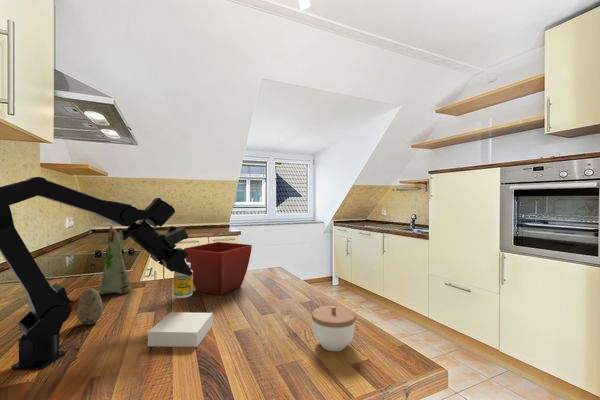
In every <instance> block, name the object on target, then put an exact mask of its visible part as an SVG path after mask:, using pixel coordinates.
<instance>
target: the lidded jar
mask: <svg viewBox="0 0 600 400" xmlns="http://www.w3.org/2000/svg"><path fill="white" fill-rule="evenodd" d="M356 318H357V316H356V314H355V312H354V311H353V310H351V309H349V308H348V307H343V306H337V305H325V306H319V307H317V308H314V310H313V311H312V312H311V319H312V320H311V322H312V323H311V324H312V332H313V335H314V337H315V340H316V341H317V342H318V343H319V344H320V346H321V348H323V349H324V350H327V351H328V352H340V351H344V350H345V348H346V347H347V346H348V345H349V344H351V342H352V340H353V337H354V335H355V330H356Z"/></svg>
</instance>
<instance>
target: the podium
mask: <svg viewBox="0 0 600 400" xmlns="http://www.w3.org/2000/svg"><path fill="white" fill-rule="evenodd" d="M213 319H214V313H213V312H173V311H172V312H171V311H170V312H169V313H168V314H167V315H165V317H163V318H162V319H161V320H160V321H159V322H157V323H156V324H155V325H154V326H153V327H152V328H151V329H149V330H148V331H147V347H163V348H164V347H168V348H169V347H172V348H175V347H176V348H177V347H178V348H179V347H180V348H181V347H182V348H184V347H186V348H197V347H198V346H199V345H200V344H201V342H202V341H203V339H204V338H205V337H206V335H207V334H208V332H209V331H210V330H211V328H212V327H213V326H214V325H213V324H214V322H213V321H214V320H213Z"/></svg>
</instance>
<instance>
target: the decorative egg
mask: <svg viewBox="0 0 600 400" xmlns="http://www.w3.org/2000/svg"><path fill="white" fill-rule="evenodd" d="M103 310H104V305H103V301H102V297H101V296H100V295H99V291H97V290H96V289H95V288H92V287H90V288H87V289H86V290H85V291H84V292H83V293H82V295H81V296H80V299H79V302H78V304H77V309H76V316H77V320H78V321H79V323H81V324H84V325H92V324H94V323H96V322H97V321H99V319H100V318H101V317H102V314H103V312H104V311H103Z"/></svg>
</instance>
